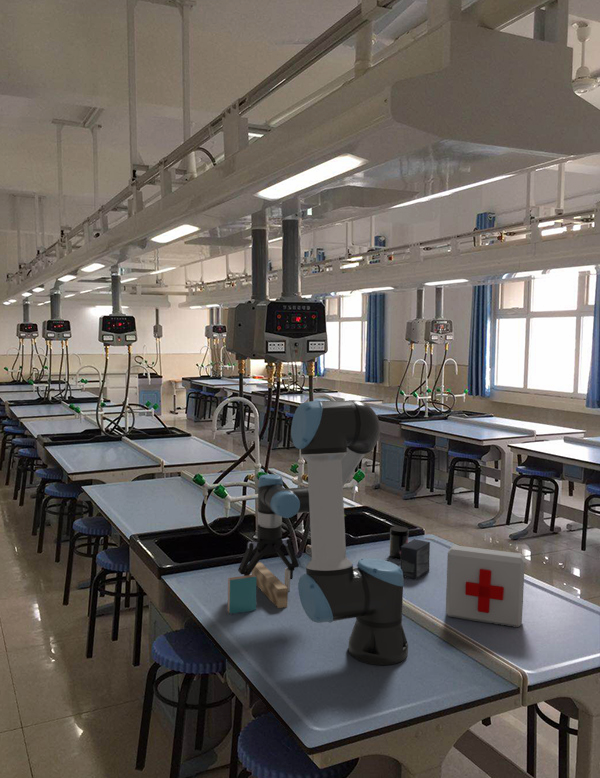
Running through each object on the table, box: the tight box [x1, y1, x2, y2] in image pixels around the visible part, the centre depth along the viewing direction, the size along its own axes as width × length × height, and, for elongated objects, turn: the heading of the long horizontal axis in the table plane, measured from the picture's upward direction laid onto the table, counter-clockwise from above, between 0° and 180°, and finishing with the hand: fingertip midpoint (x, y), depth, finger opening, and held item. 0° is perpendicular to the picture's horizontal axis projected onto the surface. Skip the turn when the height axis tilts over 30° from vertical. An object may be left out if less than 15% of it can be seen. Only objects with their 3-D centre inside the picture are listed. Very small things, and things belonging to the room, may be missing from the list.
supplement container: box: [389, 525, 410, 560], centre depth 243 cm, size 7×7×10 cm
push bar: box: [251, 561, 289, 609], centre depth 206 cm, size 24×3×6 cm, turn 23°
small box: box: [400, 538, 431, 580], centre depth 225 cm, size 11×6×10 cm, turn 144°
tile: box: [227, 574, 257, 614], centre depth 192 cm, size 2×8×10 cm, turn 113°
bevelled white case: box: [445, 544, 526, 628], centre depth 189 cm, size 21×8×20 cm, turn 70°
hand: (268, 592), depth 206 cm, fingers open, 12 cm apart
